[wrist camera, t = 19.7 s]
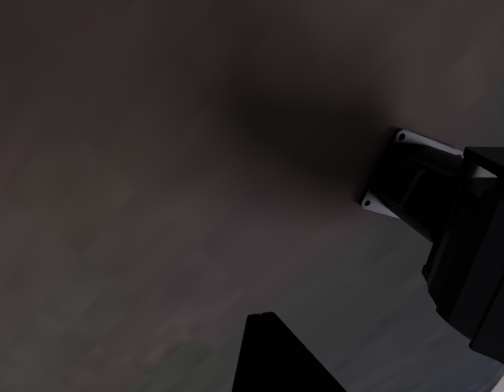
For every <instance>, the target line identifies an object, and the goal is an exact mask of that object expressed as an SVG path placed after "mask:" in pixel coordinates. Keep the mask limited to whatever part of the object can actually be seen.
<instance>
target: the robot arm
mask: <svg viewBox="0 0 504 392" xmlns="http://www.w3.org/2000/svg"><path fill="white" fill-rule="evenodd" d="M400 134H402V137H401V138H400V139H399V136H400ZM367 200H368V202H367V203H366V204H364V203H365V202H366V201H367ZM359 204H360V206H361V207H362V208H364V209H367V210H371V211H374V212H378V213H382V214H385V215H389V216H392V217H396V218H400V219H402V220H403V221H404V222H405V223H407V224H408V225H409V226H411V227H412V228H413V229H415V230H416V231H417V232H418V233H420V234H421V235H422V236H424V237H425V238H426V239H428V240H429V241H430V242H432V243H433V246H432V249H431V251H430V254H429V257H428V260H427V263H426V264H425V265H424V266H423V269H422V271H421V272H422V274H423V276H424V278H425V280H426V282H427V286H428V292H429V294H430V296H431V297H432V299H433V301H434V302H435V304H436V305H437V307H436V311H437V313H438V314H439V315H440V316H441V317H442V318H443V319H444V320H445V321H446V322H447V323H448V324H449V325H450V326H452V327H453V328H454V329H456V330H457V331H458V332H460V333H461V334H462V335H464V336H465V337H467V338H468V339H470V340H471V341H470V343H469V348H470V349H472V350H473V351H475V352H478V353H480V354H483V355H485V356H488V357H490V358H493V359H495V360H497V361H499V362H501V363H503V364H504V147H465V150H464V153H463V152H462V151H459V150H456V149H454V148H451V147H448V146H446V145H443V144H441V143H438V142H435V141H433V140H430V139H427V138H425V137H422V136H420V135H417V134H414V133H412V132H409V131H407V130H404V129H398V130H396V131H395V132H394V134H393V135H392V137H391V139H390V141H389V143H388V145H387V147H386V149H385V151H384V153H383V155H382V156H381V158H380V160H379V162H378V164H377V166H376V168H375V170H374V172H373V174H372V176H371V178H370V180H369V182H368V184H367V186H366V188H365V190H364V192H363V194H362V196H361V198H360V200H359ZM232 392H347V391H346V390H345V389H344V388H343V387H342V386H341V385H340V384H339V383H338V381H337V380H336V379H335V378H334V377H333V376H332V375H331V374H330V373H329V372H328V371H327V369H326V368H325V367H324V366H323V365H322V364H321V363H320V362H319V361H318V360H317V359H316V358H315V356H314V355H313V354H312V353H311V352H310V351H309V350H308V349H307V348H306V347H305V346H304V344H303V343H302V342H301V341H300V340H299V339H298V338H297V337H296V336H295V335H294V334H293V332H292V331H291V330H290V329H289V328H288V327H287V326H286V325H285V324H284V323H283V322H282V321H281V319H280V318H279V317H278V316H277V315H276V314H275V313H274V312H265V313H262V314H261V315H260V314H251V315H248V316H247V320H246V325H245V329H244V334H243V339H242V344H241V349H240V353H239V358H238V363H237V368H236V373H235V377H234V382H233V387H232Z"/></svg>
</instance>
